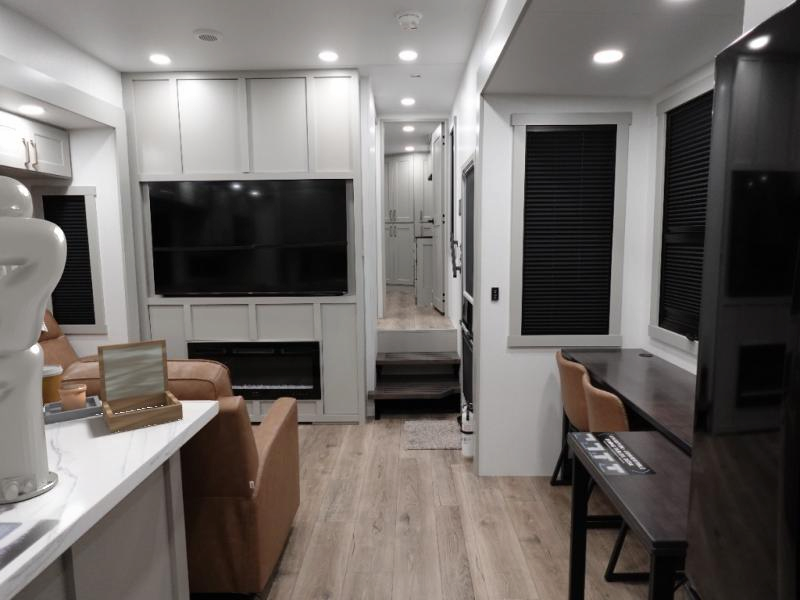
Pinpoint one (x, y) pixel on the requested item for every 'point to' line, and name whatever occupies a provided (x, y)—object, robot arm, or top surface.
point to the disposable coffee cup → (51, 383)
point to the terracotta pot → (72, 397)
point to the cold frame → (136, 385)
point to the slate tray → (56, 415)
